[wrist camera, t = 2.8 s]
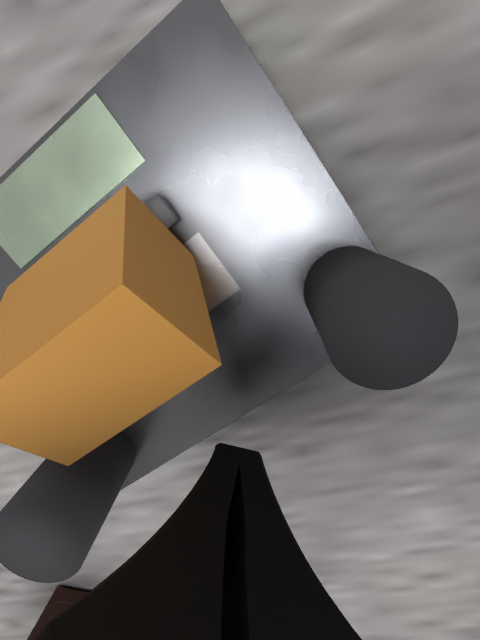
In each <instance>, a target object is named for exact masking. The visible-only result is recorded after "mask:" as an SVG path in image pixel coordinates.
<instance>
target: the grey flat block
mask: <svg viewBox="0 0 480 640" xmlns="http://www.w3.org/2000/svg"><path fill="white" fill-rule="evenodd" d="M125 185H126V186H127V187H128V188H129V189H130V190H131V191H132V192H133V193H134V194H135V195H136V196H137V197H138V198H139V199H140V200H141V201H142V202H143V203H144V204H146V203H147V202H148V201H150V200H151V199H152V198H153V197H154V196H156V195H157V194H160V195H161V196H163V197H164V198H165V199H166V200H167V202H168V203H169V204H170V205H171V206H172V208H173V209H174V211H175V212H176V214H177V216H178V218H179V220H178V221H176V222H175V223H174V224H173V225H171V226H170V227H169V228H168V230H169V231H170V232H171V233H172V234H173V235H174V236H175V237H176V238H177V239H178V240H179V241H180V242H181V243H182V244H183V245H184V246H185V247H186V248H187V249H188V251H189V252H190V253H191V254H192V255H193V256H194V259H195V263H196V267H197V271H198V274H199V278H200V282H201V286H202V290H203V294H204V298H205V302H206V305H207V309H208V313H209V317H210V321H211V325H212V329H213V333H214V336H215V340H216V344H217V348H218V352H219V356H220V360H221V364H222V365H221V366H219V367H218V368H216V369H215V370H213V371H212V372H210V373H209V374H207V375H206V376H204V377H203V378H201V379H200V380H198V381H197V382H195V383H194V384H192V385H191V386H189V387H188V388H186V389H184V390H183V391H181V392H180V393H178V394H177V395H175V396H174V397H172V398H171V399H169V400H168V401H166V402H165V403H163V404H162V405H160V406H159V407H157V408H156V409H154V410H153V411H151V412H150V413H148V414H147V415H145V416H144V417H142V418H141V419H139V420H137V421H136V422H134V423H133V424H131V425H130V426H128V427H127V428H125V429H124V430H122V431H123V432H124V433H125V434H126V435H127V436H128V438H129V439H130V441H131V442H132V445H133V448H134V452H135V459H134V463H133V466H132V467H131V469H130V471H129V473H128V475H127V477H126V479H125V481H124V483H123V485H122V487H121V489H120V490H122V489H123V488H125V487H127V486H128V485H130V484H131V483H133V482H135V481H136V480H138V479H140V478H141V477H143V476H145V475H146V474H148V473H149V472H151V471H153V470H154V469H156V468H158V467H159V466H161V465H163V464H164V463H166V462H167V461H169V460H171V459H172V458H174V457H176V456H177V455H179V454H181V453H182V452H184V451H185V450H187V449H189V448H190V447H192V446H194V445H195V444H197V443H199V442H200V441H202V440H203V439H205V438H207V437H208V436H210V435H212V434H213V433H215V432H217V431H218V430H220V429H221V428H223V427H225V426H226V425H228V424H230V423H231V422H233V421H235V420H236V419H238V418H239V417H241V416H243V415H244V414H246V413H248V412H249V411H251V410H253V409H254V408H256V407H257V406H259V405H261V404H262V403H264V402H266V401H267V400H269V399H271V398H272V397H274V396H275V395H277V394H279V393H280V392H282V391H284V390H285V389H287V388H289V387H290V386H292V385H293V384H295V383H297V382H298V381H300V380H302V379H303V378H305V377H307V376H308V375H310V374H312V373H313V372H315V371H316V370H318V369H320V368H321V367H323V366H325V365H326V364H328V363H330V362H331V360H330V358H329V356H328V354H327V352H326V349H325V347H324V345H323V343H322V340H321V338H320V336H319V333H318V331H317V329H316V327H315V324H314V322H313V320H312V318H311V315H310V313H309V311H308V309H307V306H306V304H305V300H304V282H305V278H306V276H307V273H308V271H309V270H310V268H311V266H312V265H313V264H314V262H315V261H316V260H317V259H318V258H320V257H321V256H322V255H323V254H325V253H327V252H328V251H331V250H333V249H336V248H339V247H344V246H357V247H362V248H365V249H368V250H370V251H373V252H375V253H378V252H377V251H376V249H375V247H374V246H373V244H372V243H371V241H370V239H369V238H368V236H367V235H366V233H365V231H364V230H363V228H362V227H361V225H360V223H359V222H358V220H357V219H356V217H355V215H354V214H353V212H352V211H351V209H350V207H349V206H348V204H347V203H346V201H345V200H344V198H343V196H342V195H341V193H340V192H339V190H338V188H337V187H336V185H335V184H334V182H333V180H332V179H331V177H330V176H329V174H328V172H327V171H326V169H325V168H324V166H323V164H322V163H321V161H320V160H319V158H318V156H317V155H316V153H315V152H314V150H313V149H312V147H311V145H310V144H309V142H308V141H307V139H306V137H305V136H304V134H303V133H302V131H301V129H300V128H299V126H298V125H297V123H296V121H295V120H294V118H293V117H292V115H291V113H290V112H289V110H288V109H287V107H286V105H285V104H284V102H283V101H282V99H281V98H280V96H279V94H278V93H277V91H276V90H275V88H274V86H273V85H272V83H271V82H270V80H269V78H268V77H267V75H266V74H265V72H264V70H263V69H262V67H261V66H260V64H259V62H258V61H257V59H256V58H255V56H254V54H253V53H252V51H251V50H250V48H249V46H248V45H247V43H246V42H245V40H244V39H243V37H242V35H241V34H240V32H239V31H238V29H237V27H236V26H235V24H234V23H233V21H232V19H231V18H230V16H229V15H228V13H227V11H226V10H225V8H224V7H223V5H222V3H221V2H220V0H183V1H182V2H180V3H179V4H178V5H177V6H176V7H175V8H174V9H173V10H172V11H171V12H170V13H169V14H168V15H167V16H166V17H165V18H164V19H163V20H162V21H161V22H160V23H159V24H158V25H157V26H156V27H155V28H154V29H153V30H152V31H151V32H150V33H149V34H148V35H147V36H145V37H144V38H143V39H142V40H141V41H140V42H139V43H138V44H137V45H136V46H135V47H134V48H133V49H132V50H131V51H130V52H129V53H128V54H127V55H126V56H125V57H124V58H123V59H122V60H121V61H120V62H119V63H118V64H117V65H116V66H115V67H114V68H113V69H112V70H110V71H109V72H108V73H107V74H106V75H105V76H104V77H103V78H102V79H101V80H100V81H99V82H98V83H97V84H96V85H95V86H94V87H93V88H92V89H91V90H90V91H89V92H88V93H87V94H86V95H85V96H84V97H83V98H82V99H81V100H80V101H79V102H78V103H77V104H75V105H74V106H73V107H72V108H71V109H70V110H69V111H68V112H67V113H66V114H65V115H64V116H63V117H62V118H61V119H60V120H59V121H58V122H57V123H56V124H55V125H54V126H53V127H52V128H51V129H50V130H49V131H48V132H47V133H46V134H45V135H44V136H43V137H42V138H40V139H39V140H38V141H37V142H36V143H35V144H34V145H33V146H32V147H31V148H30V149H29V150H28V151H27V152H26V153H25V154H24V155H23V156H22V157H21V158H20V159H19V160H18V161H17V162H16V163H15V164H14V165H13V166H12V167H11V168H10V169H9V170H8V171H7V172H5V173H4V174H3V175H2V176H1V177H0V302H1V300H2V297H3V295H4V293H5V291H6V289H7V287H8V286H9V285H10V284H12V283H13V282H14V281H15V280H16V279H17V278H18V277H20V276H21V275H22V274H23V273H24V272H25V271H27V270H28V269H29V268H30V267H31V266H32V265H34V264H35V263H36V262H37V261H38V260H39V259H40V258H42V257H43V256H44V255H45V254H46V253H47V252H49V251H50V250H51V249H52V248H53V247H54V246H56V245H57V244H58V243H59V242H60V241H61V240H62V239H64V238H65V237H66V236H67V235H68V234H69V233H71V232H72V231H73V230H74V229H75V228H76V227H78V226H79V225H80V224H81V223H82V222H83V221H85V220H86V219H87V218H88V217H89V216H90V215H91V214H93V213H94V212H95V211H96V210H97V209H98V208H100V207H101V206H102V205H103V204H104V203H105V202H107V201H108V200H109V199H110V198H111V197H112V196H113V195H115V194H116V193H117V192H118V191H119V190H120V189H122V188H123V187H124V186H125Z"/></svg>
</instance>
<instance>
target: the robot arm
mask: <svg viewBox="0 0 480 640" xmlns="http://www.w3.org/2000/svg"><path fill="white" fill-rule="evenodd" d="M34 640H362V639H361V638H360V637H359V635H358V634H357V633H356V632H355V631H354V629H353V628H352V627H351V625H350V624H349V623H348V621H347V620H346V618H345V617H344V616H343V614H342V613H341V611H340V610H339V609H338V607H337V606H336V604H335V603H334V602H333V600H332V599H331V597H330V596H329V595H328V593H327V592H326V590H325V589H324V587H323V586H322V584H321V583H320V581H319V579H318V578H317V576H316V575H315V573H314V572H313V570H312V568H311V566H310V565H309V563H308V561H307V560H306V558H305V556H304V555H303V553H302V551H301V549H300V547H299V545H298V544H297V542H296V540H295V538H294V536H293V534H292V532H291V530H290V528H289V526H288V524H287V522H286V520H285V517H284V515H283V513H282V511H281V508H280V506H279V504H278V501H277V499H276V497H275V494H274V492H273V489H272V487H271V484H270V481H269V479H268V476H267V473H266V470H265V467H264V464H263V460H262V457H261V455H260V453H259V452H257V451H252V450H248V449H244V448H240V447H236V446H231V445H227V444H223V443H219V444H217V445H216V446H215V450H214V453H213V455H212V457H211V459H210V461H209V463H208V465H207V467H206V469H205V470H204V472H203V474H202V475H201V477H200V478H199V480H198V481H197V483H196V484H195V486H194V487H193V489H192V490H191V491H190V493H189V494H188V495H187V497H186V498H185V499H184V501H183V502H182V503H181V504H180V506H179V507H178V508H177V510H176V511H175V512H174V513H173V514H172V516H171V517H170V518H169V519H168V520H167V521H166V522H165V523H164V525H163V526H162V527H161V528H160V529H159V530H158V531H157V532H156V533H155V534H154V535H153V536H152V537H151V538H150V539H149V540H148V541H147V542H146V543H145V544H144V545H143V546H142V547H141V548H140V549H139V550H138V551H137V552H136V553H135V554H134V555H133V556H132V557H131V558H129V559H128V560H127V561H126V562H125V563H124V564H123V565H121V566H120V567H119V568H118V569H117V570H115V571H114V572H113V573H112V574H111V575H110V576H108V577H107V578H106V579H105V580H104V581H102V582H101V583H100V584H99V585H98V586H96V587H95V588H94V589H93V590H91V591H90V592H89V593H87V594H86V595H85V596H83V597H82V598H80V599H79V600H78V601H76V602H75V603H74V604H72V605H71V606H69V607H68V608H67V609H65V610H64V611H63V612H61V613H60V614H58V615H57V616H56V617H54V618H53V619H51V620H50V621H49V622H48V623H47V624H46V625H45V626H44V627H43V629H42V630H41V631H40V632H39V634H38V635H37V636H36V637H35V639H34Z"/></svg>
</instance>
